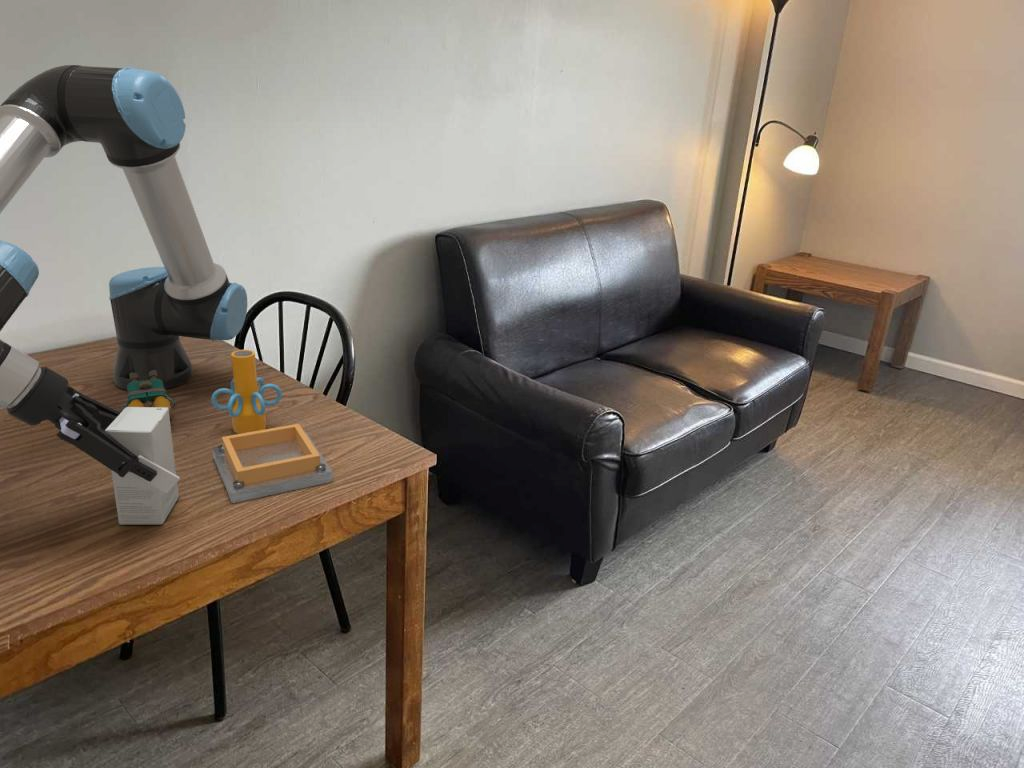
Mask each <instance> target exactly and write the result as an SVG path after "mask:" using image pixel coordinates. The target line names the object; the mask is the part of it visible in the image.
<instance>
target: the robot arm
mask: <svg viewBox="0 0 1024 768" xmlns="http://www.w3.org/2000/svg"><path fill="white" fill-rule="evenodd" d="M185 113H186V112H185V109H184V105H183V102H182V100H181V97H180V96H179V94H178V92H177V90H176V88H175V87H174V86H173V84H172V83H171V82H170V81H169V80H168V79H167V78H165V77H164V76H162V75H160V74H159V73H158V72H155V71H153V70H145V69H140V68H136V67H127V66H126V67H108V66H107V67H106V66H105V67H104V66H103V67H102V66H88V65H78V64H77V65H76V64H65V65H59V66H56V67H52V68H50V69H47V70H44V71H43V72H41V73H39V74H37V75H35V76H34V77H32V78H31V79H29V80H27V81H26V82H25V83H23V84H21V86H19V87H18V88H17V89H16V90H14V91H13V92H12V93H11V94H9V96H8V97H7V98H6V99H5V100H4V101H3V102H2V104H1V103H0V214H1V213H3V211H4V210H5V209H6V207H7V206H8V205H9V203H10V202H11V201H12V200H13V198H14V197H15V196H16V194H17V193H18V191H20V189H21V188H22V187H23V186H24V184H25V183H26V182H27V181H28V179H29V178H30V177H31V175H33V173H34V172H35V171H36V169H37V168H38V167H39V165H40V164H41V163H42V162H43V160H44V158H52V157H55V156H56V155H57V154H58V153H60V151H61V150H62V149H63V148H64V147H65V146H66V145H69V144H72V143H76V142H77V143H78V142H87V143H98V144H100V145H101V146H102V149H103V151H104V153H105V156H106V158H107V160H108V161H109V163H110V164H111V165H112V166H114V167H117V168H120V169H122V170H123V173H124V175H125V177H126V179H127V182H128V184H129V187H130V189H131V192H132V194H133V196H134V199H135V201H136V203H137V206H138V208H139V211H140V214H141V215H142V217H143V220H144V222H145V225H146V227H147V229H148V233H149V234H150V236H151V240H152V241H153V243H154V246H155V248H156V250H157V253H158V256H159V258H160V260H161V262H162V264H163V266H152V267H151V266H150V267H142V268H137V269H131V270H127V271H124V272H120V273H118V274H116V275H113V276H112V277H111V278H110V280H109V282H108V287H109V290H108V291H109V297H108V298H109V301H110V306H111V312H112V317H113V324H114V329H115V334H116V340H117V352H116V357H115V359H114V364H113V365H114V366H113V369H112V370H113V371H112V374H113V382H114V384H115V386H116V387H118V388H119V389H122V390H124V391H127V385H128V384H129V383H131V381H130V376H129V373H137V374H138V376H139V381H146V380H150V379H149V375H148V373H149V372H150V371H153V370H156V371H157V376H158V378H157V379H160V380H162V382H163V385H164V389H165V390H167V389H172V388H174V387H178V386H181V385H183V384H185V383H187V382H188V381H189V380H191V379H192V378H193V375H194V374H193V373H194V372H193V367H192V366H193V365H192V363H191V361H190V358H189V356H188V354H187V352H186V350H185V348H184V347H183V345H182V343H181V341H180V337H185V338H192V339H201V340H209V341H213V342H214V341H230V340H232V339H235V337H237V335H238V334H240V332H241V330H242V328H243V326H244V323H245V320H246V316H247V314H248V313H247V310H248V294H247V291H246V289H245V287H244V286H243V285H242V284H239V283H237V282H230V281H229V278H228V275H227V271H226V270H225V269H224V267H223V266H221V265H220V264H218V263H215V262H214V260H213V257H212V254H211V251H210V249H209V246H208V244H207V241H206V237H205V235H204V233H203V230H202V227H201V224H200V221H199V219H198V216H197V214H196V211H195V208H194V206H193V203H192V200H191V196H190V193H189V192H188V189H187V186H186V183H185V181H184V178H183V176H182V173H181V170H180V168H179V167H180V166H179V163H178V162H177V159H176V155H177V153H178V152H179V150H180V149H181V142H182V140H183V139H184V136H185V133H186V123H185V122H184V120H185V119H186V114H185ZM39 275H40V270H39V267H38V264H37V263H36V261H34V260H33V258H32V256H31V255H30V254H28V252H26V251H25V250H24V249H22V248H21V247H18V246H17V245H15V244H13V243H11V242H8V241H4V240H0V332H1V331H2V330H3V329H4V327H5V325H7V323H8V322H9V320H10V319H11V317H12V316H13V315H14V314H15V312H16V311H17V310H18V308H19V307H20V305H21V304H22V303H23V301H24V300H25V299H26V298H28V296H29V294H30V291H31V290H32V288H33V286H34V285H35V283H36V281H37V279H38V278H39ZM3 409H4V410H5V409H6V411H7V413H8V415H10V416H11V417H13V418H14V419H18V420H19V421H21V422H23V423H24V424H27V425H29V426H31V427H32V426H38V425H39V424H41V423H42V422H43V421H50V423H52V424H53V425H55V428H56V429H58V432H57V434H56V436H57V438H59V439H60V440H62V441H65V442H67V443H68V444H71V445H72V446H74V447H76V448H77V449H78V450H80V451H82V452H83V453H84V454H86V455H88V456H90V458H92V459H94V460H96V461H97V462H98V463H100V464H102V465H103V466H104V467H107V468H108V469H109V470H110V471H111V470H112V471H114V472H115V473H117V474H118V475H119V476H120V477H124V476H125V475H126V474H127V473H130V474H132V475H134V476H136V477H137V478H139V479H141V480H143V481H145V482H147V483H149V484H151V485H152V486H154V487H156V488H158V489H160V490H162V491H164V492H165V493H168V492H169V491H170V490H171V488H172V487H173V486H174V485H175V484H176V483H177V484H178V482H179V481H180V480H181V479H180V476H178V475H177V474H176V475H175V474H173V473H172V472H170V471H168V470H166V469H165V468H163V467H161V466H159V465H157V464H156V463H154V462H152V461H150V460H148V459H147V458H145V457H143V456H141V455H139V456H138V457H137V456H136V455H135V454H133V453H132V452H131V451H129V450H128V449H127V448H126V447H124V446H123V445H122V444H120V443H119V442H118V441H117V440H115V439H114V438H113V437H111V436H110V435H109V434H108V433H106V432H105V430H106V429H107V427H108V426H109V425H110V424H111V423H112V422H113V421H114V420H115V419H116V418H117V417H118V416H119V414H120V413H121V412H120V411H119V410H116V409H115V408H112V407H110V406H107V405H106V404H105V403H101V402H99V401H97V400H96V399H93V398H91V397H90V396H87V395H85V394H83V393H81V392H80V391H78V390H76V389H74V388H73V387H71V386H69V380H68V379H67V378H66V377H65V376H63V375H61V374H59V373H57V371H54V370H52V369H51V368H49V367H48V366H41V367H40V362H39V361H38V360H36V359H34V358H33V357H31V356H29V355H27V354H26V353H25V352H22V351H21V350H20V349H19V350H18V349H17V348H15V347H13V346H12V345H10V344H8V343H6V342H5V341H3V340H2V339H0V410H3ZM123 462H124V463H123Z"/></svg>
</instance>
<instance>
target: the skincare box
mask: <svg viewBox="0 0 1024 768" xmlns="http://www.w3.org/2000/svg"><path fill="white" fill-rule="evenodd" d="M105 432H106V433H108V434H109V435H110V436H111V437H113V438H114V439H115V440H117V441H118V442H119V443H120V444H122V445H123V446H124V447H126V448H127V449H128V450H129V451H131V452H132V453H133V454H135V455H136V456H137V457H138V456H139V455H141V456H143V457H145V458H147V459H148V460H150V461H152V462H154V463H156V464H157V465H159V466H161V467H163V468H165V469H166V470H168V471H170V472H172V473H173V474H175V475H177V471H176V470H177V469H176V462H175V453H174V445H173V444H174V443H173V437H172V427H171V424H170V417H169V408H167V407H153V406H152V407H151V406H149V407H148V406H147V407H146V406H144V407H126V408H124V409H123V410H122V412H120V414H119V416H118V417H117V418H116V419H115V420H114V421H113V422H112V423H111V424H110V425H109V426H108V427H107V429H106V430H105ZM123 463H124V462H123ZM110 471H111V479H112V484H113V485H112V486H113V491H114V498H115V499H114V500H115V505H116V512H117V520H118V525H124V526H126V525H131V526H132V525H133V526H134V525H139V526H140V525H141V526H142V525H148V526H149V525H150V526H151V525H163V524H164V522H165V521H166V519H167V518H168V516H169V514H170V512H171V511H172V509H173V508H174V506H175V504H176V502H177V501H178V500H179V498H180V496H179V495H180V494H179V489H178V487H179V486H178V482H177V483H176V484H175V485H174V486H173V487H172V488H171V490H170V491H169V492H168V493H165V492H164V491H162V490H160V489H158V488H156V487H154V486H152V485H151V484H149V483H147V482H145V481H143V480H141V479H139V478H137V477H136V476H134V475H132V474H130V473H127V474H126V475H125V476H124V477H120V476H119V475H118V474H117V473H115V472H114V471H112V470H111V469H110Z"/></svg>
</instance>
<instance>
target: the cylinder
mask: <svg viewBox="0 0 1024 768" xmlns="http://www.w3.org/2000/svg"><path fill="white" fill-rule="evenodd" d="M230 356H231V368H232V375H233V379H232V380H231V381H230V389H229V388H226V387H223V388H222V387H221V388H218V389H216V390H215V391H214V392H213V393H212V395H211V397H210V398H211V399H210V401H211V405H213V407H214V408H215V409H218V410H220V411H226V410H227V412H228V414H229V416H230V417H231V424H232V430H233V432H234V433H235V434H242V433H248V432H254V431H259V430H265V429H267V426H268V425H267V424H268V423H267V414H266V413H267V412H266V406H275V405H277V404H278V403H279V402H280V401H281V400H282V396H283V393H282V390H281V388H280V387H279V386H278V385H276V384H273V383H268V384H266V383H265V380H264V379H263V378H262V377H258V374H257V364H256V353H255V351H253V350H251V349H238V350H235V351H232V352H231V353H230ZM258 383H260V388H259V386H258ZM268 389H273V390H275V391H276V393H277V395H276V398H275V399H274V400H271V401H270V400H269V401H268V400H266V399H264V397H263V396H264V394H265V391H266V390H268ZM222 393H226V394H229V396H230V397H229V399H228V403H227V404H226V405H221V404H219V403H218V401H217V397H218V395H220V394H222Z"/></svg>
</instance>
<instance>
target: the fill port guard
mask: <svg viewBox="0 0 1024 768" xmlns="http://www.w3.org/2000/svg"><path fill="white" fill-rule="evenodd" d="M290 440H296V441H297V443H298V444H299V446H300V448H301V449H302V451H303V452H304V454H305V456H300V457H295V458H290V459H285V460H280V461H274V462H269V463H264V464H259V465H254V466H249V467H244V468H243V467H242V465H241V463H240V461H239V459H238V457H237V454H236V452H235V451H236V450H242V449H247V448H253V447H258V446H263V445H269V444H274V443H280V442H285V441H290ZM221 442H222V445H223V448H224V453H225V455H226V458H227V460H228V462H229V465H230V467H231V469H232V471H233V474H234V476H235V478H236V480H238V483H239V482H244V485H245V484H250V483H255V482H260V481H265V480H270V479H275V478H279V477H284V476H289V475H294V474H299V473H304V472H309V471H313V470H316V467H317V466H321V464H320V455H319V453H318V452H317V450H316V449H315V447H314V446H313V444H312V443H311V441H310V440H309V438H308V437H307V435H306V434H305V432H304V429H303V427H302V426H301V424H300V423H294V424H289V425H284V426H282V425H281V426H278V427H271V428H266V429H265V430H259V431H254V432H248V433H242V434H237V433H235V434H232V435H227V436H226V435H225V436H222V437H221Z"/></svg>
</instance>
